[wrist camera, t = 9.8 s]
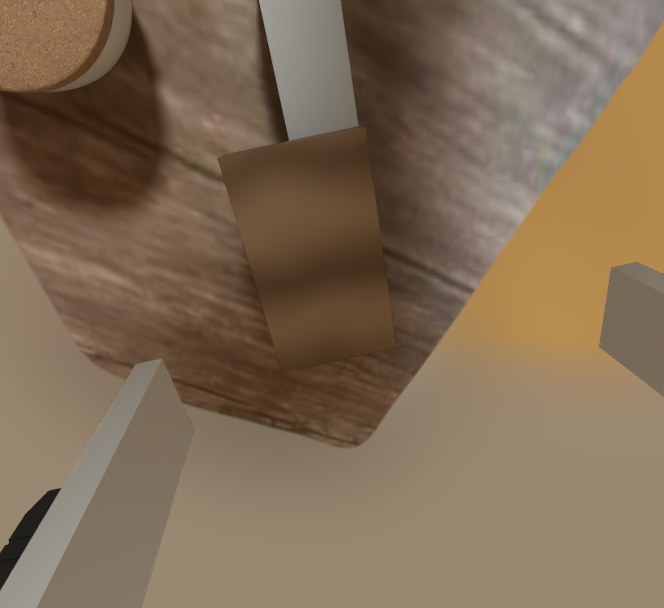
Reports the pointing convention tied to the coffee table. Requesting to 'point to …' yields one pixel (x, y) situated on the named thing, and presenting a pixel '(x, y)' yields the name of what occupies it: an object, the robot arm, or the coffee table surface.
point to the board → (314, 245)
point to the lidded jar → (60, 42)
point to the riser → (310, 65)
